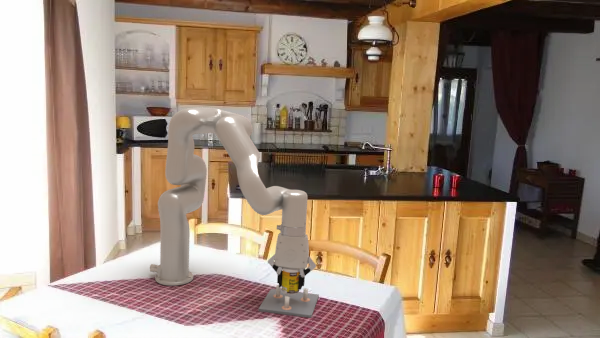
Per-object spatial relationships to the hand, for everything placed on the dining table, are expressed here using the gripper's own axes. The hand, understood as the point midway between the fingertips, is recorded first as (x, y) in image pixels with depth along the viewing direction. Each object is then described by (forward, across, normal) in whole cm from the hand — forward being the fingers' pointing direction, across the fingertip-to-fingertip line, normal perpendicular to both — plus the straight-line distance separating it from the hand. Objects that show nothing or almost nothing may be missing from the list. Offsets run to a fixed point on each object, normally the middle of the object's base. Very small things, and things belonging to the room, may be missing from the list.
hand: (290, 286), depth 155 cm
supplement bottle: (+2, 0, 0) cm, 2 cm away
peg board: (+6, 0, 0) cm, 6 cm away
